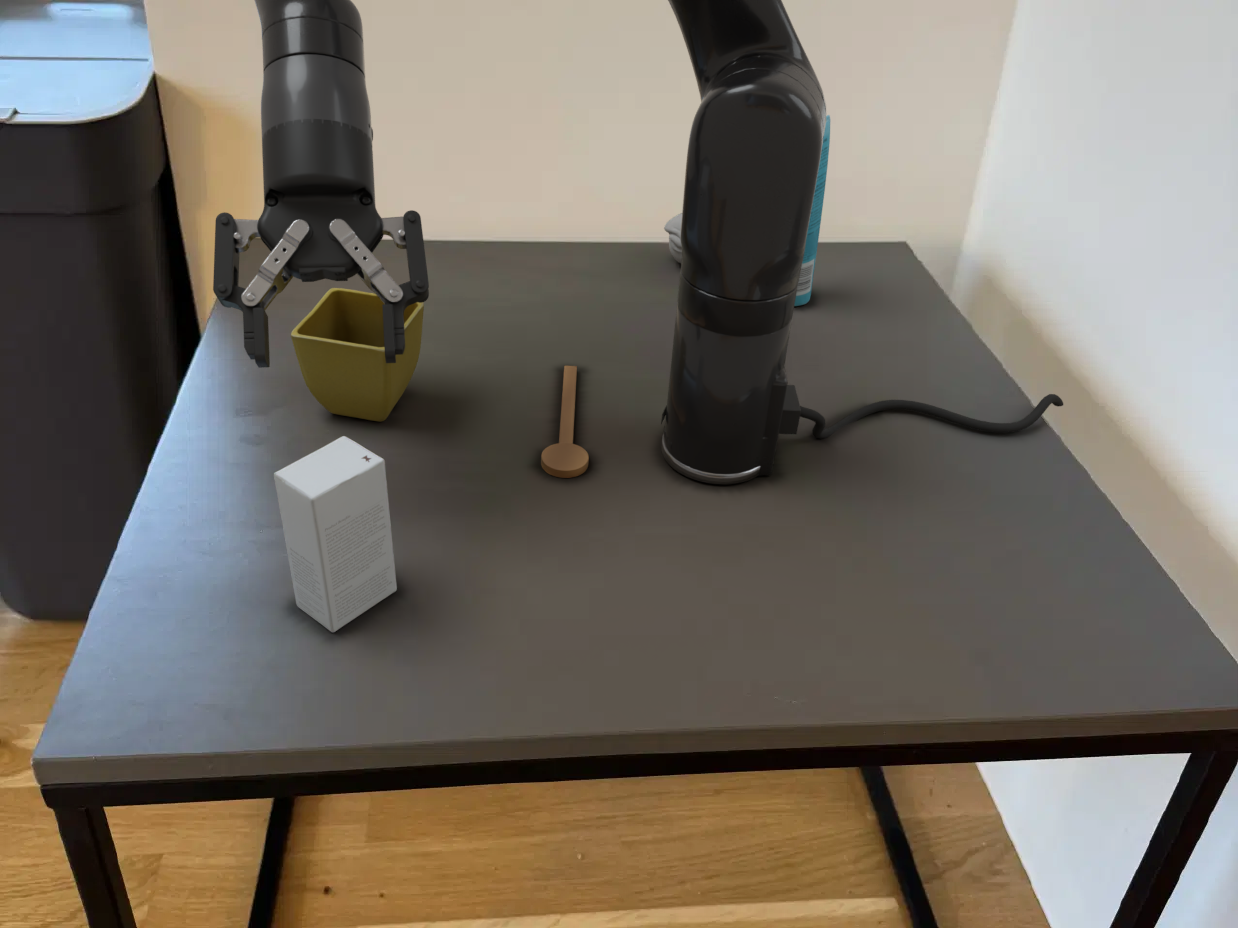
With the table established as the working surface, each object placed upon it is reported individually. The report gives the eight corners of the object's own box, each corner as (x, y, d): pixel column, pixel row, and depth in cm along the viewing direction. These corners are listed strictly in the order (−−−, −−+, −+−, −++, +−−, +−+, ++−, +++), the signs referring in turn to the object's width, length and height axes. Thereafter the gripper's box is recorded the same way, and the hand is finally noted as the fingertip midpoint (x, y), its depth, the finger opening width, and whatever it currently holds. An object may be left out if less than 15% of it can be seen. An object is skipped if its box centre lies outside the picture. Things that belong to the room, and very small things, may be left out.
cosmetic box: (359, 564, 82) (345, 432, 75) (398, 592, 80) (387, 458, 73) (292, 606, 78) (270, 471, 71) (331, 636, 76) (313, 499, 69)
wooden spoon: (591, 372, 106) (591, 364, 105) (587, 479, 92) (588, 471, 92) (549, 369, 106) (549, 362, 105) (539, 477, 92) (540, 469, 91)
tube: (778, 278, 124) (805, 109, 113) (819, 290, 122) (851, 119, 111) (754, 305, 119) (779, 129, 107) (796, 317, 117) (827, 140, 106)
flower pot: (395, 440, 95) (389, 349, 90) (299, 423, 96) (287, 333, 91) (430, 387, 102) (425, 300, 97) (340, 372, 103) (331, 286, 98)
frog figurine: (724, 277, 124) (731, 219, 119) (661, 274, 123) (667, 216, 119) (719, 253, 128) (726, 196, 124) (659, 250, 128) (664, 193, 124)
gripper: (200, 114, 73) (207, 353, 71) (419, 115, 75) (432, 345, 73) (221, 162, 80) (228, 379, 78) (420, 160, 83) (432, 371, 81)
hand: (327, 363), depth 76 cm, fingers open, 8 cm apart
